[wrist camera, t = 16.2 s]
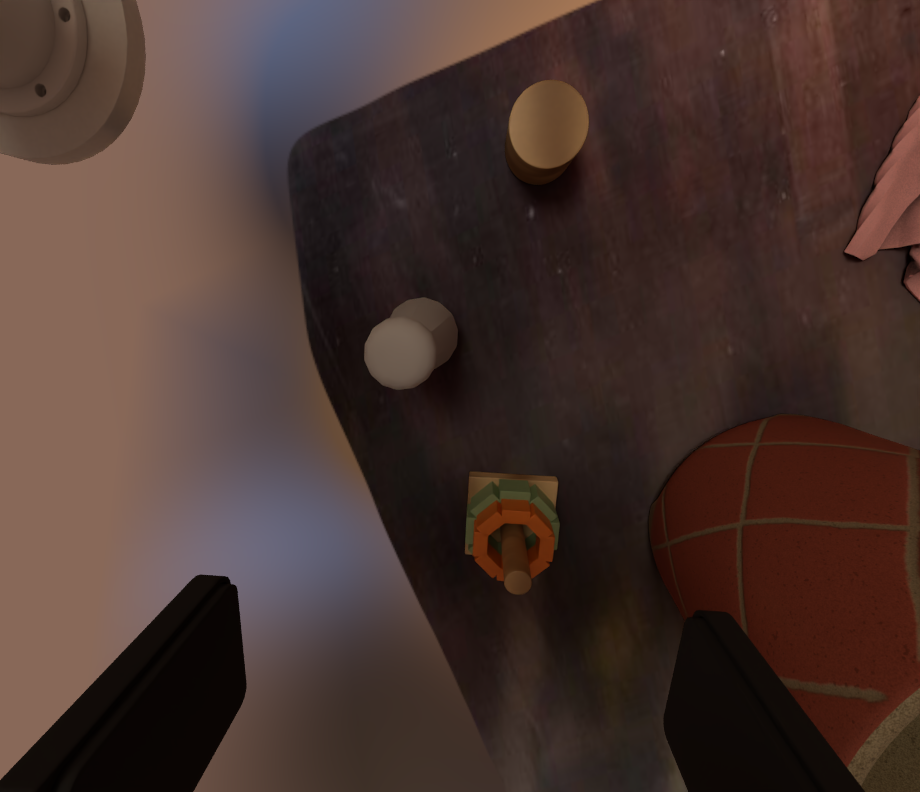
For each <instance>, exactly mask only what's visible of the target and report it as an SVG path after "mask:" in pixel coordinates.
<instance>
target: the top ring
mask: <svg viewBox="0 0 920 792" xmlns="http://www.w3.org/2000/svg"><path fill="white" fill-rule="evenodd" d="M504 523H509V524H524V525H527V526H528V527H529V528H530V529H531V530H532V531H533V532H534V533H535V534H536V544H535V545H534V546H533V547H531V548H530V549H529V550H527V555H528V561H529V567H530V573H531V579H532V578H534V577H535V576H536V575H538V574H539V573H541V572H542V571H543V570H545V569H546V568H547V567H549V566H550V564H549V562H552V561H553V552H554V543H555V536H554V532H553V529H552V525H551V523H550V520H549V519H548V518H547V517H546V516H545V515H544V514H543V513H542V512H541V511H540V509H539V508H538V507H537V506H536V505H535V504H534V503H531V504H530V505H529V502H528V500H516V499H501V504H500V503H499V502H498V501H497V500H496V501H494V502H493V503H492V504H491V505H489V506H488V507H487V508H486V509H484V510H483V511H482V512H481V513H479V514H478V515H477V520H474V534H473V556H475V562H476V563H477V564H478V565H480V566H481V567H482V568H483V569H484V570H485V571H486V572H487V573H488V574H489V575H490V576H491V577H492V578H494V577H495V576H496V575H497V580H498V581H504V574H503V561H502V555H500V554H499V553H498V552H497V551H496V550H495V549H494V548H493V547H492V546H491V545H490V544H489V543H488V536H489V535H490V534H491V533H493V532H494V531H495V530H497V529H498V528H499V527H500V526H502V525H503V524H504Z"/></svg>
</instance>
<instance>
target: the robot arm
mask: <svg viewBox="0 0 920 792" xmlns="http://www.w3.org/2000/svg"><path fill="white" fill-rule="evenodd" d="M86 55H87V27H86V18H85V14H84V10H83V6H82V3H81V0H0V113H3V114H7V115H11V116H23V117H30V116H35V115H40V114H44V113H46V112H48V111H50V110H52V109H54V108H56V107H57V106H59V105H60V104H61V103H62V102H63V101H65V100H66V99H67V98H68V96H69V95H70V94H71V92H72V91H73V90H74V88H75V87H76V85H77V83H78V81H79V79H80V77H81V74H82V72H83V68H84V64H85V59H86ZM245 692H246V674H245V664H244V654H243V643H242V634H241V622H240V612H239V601H238V591H237V587H236V586H235V585H233V584H231V583H230V580H229V578H228V577H225V576H213V575H197V576H196V577H195V578H193V579H192V580H191V581H190V582H189V583H188V584H187V585H186V586H185V587H184V588H183V590H181V592H180V593H179V594H178V595H177V596H176V597H175V598H174V599H173V600H172V601H171V602H170V603H169V604H168V605H167V606H166V607H165V608H164V609H163V610H162V611H161V612H160V614H159V615H158V616H157V617H156V618H155V619H154V620H153V621H152V622H151V623H150V624H149V625H148V626H147V627H146V628H145V629H144V630H143V631H142V633H140V634H139V635H138V637H137V638H136V639H135V640H134V641H133V642H132V643H131V644H130V645H129V646H128V647H127V648H126V649H125V650H124V651H123V652H122V653H121V654H120V655H119V656H118V658H116V660H115V661H114V662H113V663H112V664H111V665H110V666H109V667H108V668H107V669H106V670H105V671H104V672H103V673H102V674H101V675H100V676H99V678H97V680H96V681H95V682H94V683H93V684H92V685H91V686H90V687H89V688H88V689H87V690H86V691H85V692H84V693H83V694H82V695H81V696H80V697H79V698H78V699H77V700H76V701H75V702H74V704H73V705H72V706H71V707H70V708H69V709H68V710H67V711H66V712H65V713H64V714H63V715H62V716H61V717H60V718H59V719H58V721H56V722H55V723H54V725H52V727H51V728H50V729H49V730H48V731H47V732H46V733H45V734H44V735H43V736H42V737H41V738H40V739H39V740H38V741H37V742H36V743H35V744H34V745H33V746H32V747H31V749H30V750H29V751H28V752H27V753H26V754H25V755H24V756H23V757H22V758H21V759H20V760H19V761H18V762H17V763H16V764H15V765H14V766H13V767H12V768H11V769H10V770H9V772H8V773H7V774H6V775H5V776H4V777H3V778H2V779H1V780H0V792H193V791H194V790H195V788H196V786H197V784H198V782H199V780H200V779H201V777H202V775H203V773H204V771H205V770H206V768H207V766H208V764H209V763H210V760H211V759H212V757H213V755H214V754H215V752H216V750H217V748H218V746H219V745H220V743H221V741H222V739H223V737H224V735H225V734H226V732H227V730H228V728H229V727H230V725H231V723H232V721H233V719H234V718H235V716H236V714H237V712H238V710H239V709H240V707H241V705H242V702H243V700H244V697H245ZM664 731H665V735H666V738H667V741H668V743H669V746H670V748H671V751H672V753H673V756H674V758H675V760H676V763H677V765H678V768H679V770H680V773H681V775H682V777H683V780H684V782H685V785H686V787H687V790H688V792H865V791H864V789H863V788H862V787H861V785H860V784H859V783H858V782H857V780H856V779H855V778H854V776H853V775H852V774H851V772H850V771H849V770H848V768H847V767H846V766H845V764H844V763H843V762H842V760H841V759H840V758H839V756H838V755H837V754H836V752H835V751H834V750H833V748H832V747H831V746H830V745H829V743H828V742H827V741H826V739H825V738H824V737H823V735H822V734H821V733H820V731H819V730H818V729H817V727H816V726H815V725H814V723H813V722H812V721H811V719H810V718H809V717H808V715H807V714H806V713H805V712H804V710H803V709H802V708H801V706H800V705H799V704H798V702H797V701H796V700H795V698H794V697H793V696H792V694H791V693H790V692H789V690H788V689H787V688H786V686H785V685H784V684H783V682H782V681H781V680H780V678H779V677H778V676H777V675H776V673H775V672H774V671H773V669H772V668H771V667H770V665H769V664H768V663H767V661H766V660H765V659H764V657H763V656H762V655H761V653H760V652H759V651H758V649H757V648H756V647H755V645H754V644H753V643H752V642H751V640H750V639H749V638H748V636H747V635H746V634H745V632H744V631H743V630H742V628H741V627H740V626H739V624H738V623H737V622H736V620H735V619H734V618H733V617H732V616H731V615H730V614H729V613H727V612H721V611H707V610H696V611H695V612H694V614H693V617H687V619H686V620H685V623H684V628H683V632H682V637H681V641H680V646H679V650H678V655H677V659H676V664H675V668H674V673H673V677H672V682H671V686H670V691H669V695H668V700H667V704H666V709H665V713H664Z"/></svg>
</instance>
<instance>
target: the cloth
mask: <svg viewBox="0 0 920 792" xmlns="http://www.w3.org/2000/svg"><path fill="white" fill-rule="evenodd" d="M908 245H912V247H911V250H910V253H909V255H910V258H911V261H910V263H909V265H908V266H907V268H906V273H905V278H904V284H905V286H906V287H907V289H908V290H909V291H910V292H911V293H912V294H913V295H914V296H915V297H916V299H917V300H918V301H919V302H920V96H919V98H918V99H917V100H916V102H915V103H914V105H913V106H912V108H911V109H910V111H909V114H908V118H907V121H906V122H905V123H904V125H903V126H902V127H901V129H900V130H899V131H898V133H897V134H896V136H895V138H894V141H893V143H892V146H891V149H890V153H889V155H888V157H887V158H886V159H885V160H884V162H883V164H882V165H881V167H880V168H879V170H878V171H877V174H876V177H875V180H874V184H873V190H872V193H871V195H870V196H869V198H868V200H867V201H866V203H865V205H864V206H863V208H862V211H861V214H860V216H859V219H858V224H857V230H856V234H855V235H854V237H853V238H852V240H851V242H850V243H849V245H848V246H847V248H846V250H845V251H844V252H846V253H848V254H851V255H854V256H856V257H858V258H860V259H862V260H865V259H867V258H869V257H870V256H872V255H874V254H876V252H877V251H878V249H888V248H898V247H903V246H908Z"/></svg>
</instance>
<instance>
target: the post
mask: <svg viewBox="0 0 920 792" xmlns="http://www.w3.org/2000/svg"><path fill="white" fill-rule="evenodd" d="M499 479H510V480H527V481H528V483H529V487H531V486H532V485H534V484H536V485H537V486H538V487H539V488H540V490H541V491H542V492H543V493H544V494H545V495H546V496H547V497H548V498H549V499H550V500H551V501H552V502H553V504H554V507H555V508H556V499H557V490H558V480H557V478H556V477H553V476H536V475H520V474H503V473H487V472H469V485H468V504H471V497H473V496H474V495H475V494H476V493H478V492H479V491H480V490H481V489H483V488H484V487H485V486H486V485H488V484H489V483H490V482H491V481H493V482H494V483H495V484H496V486H497V487H499ZM468 504H467V505H468ZM533 533H534V532H533V531H532V530H531V529H530V528H529V527H528V526H527V525H524V524H509V523H504V524H503V525H502V526H500V527H499V528H498V529H497V530H495V531H494V532H493V533H491V534H490V535H491V536H492V537H493V538H494V539H495V540H496V541H497V542H501V548H502V561H503V574H504V585H505V588H506V589H507V590H508V591H509V592H510V593H512V594H516V595H521V594H524V593H526V592H527V591H529V589H530V588H531V585H532V579H531V573H530V567H529V561H528V555H527V550H526V544H525V539H526V538H527V537H529V536H530V535H531V534H533ZM465 554H471V553H470V552H469V551H468V544H465ZM471 555H472V554H471Z"/></svg>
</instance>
